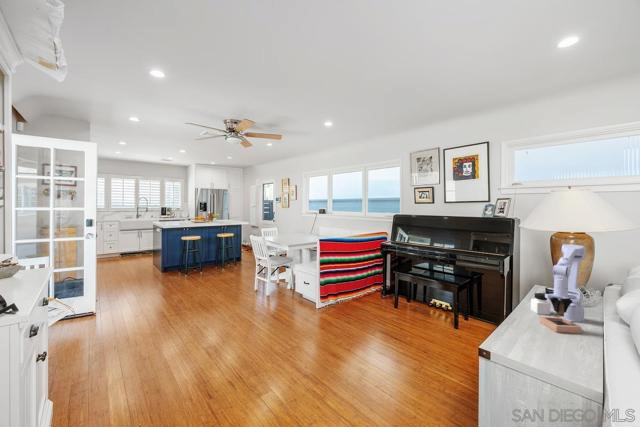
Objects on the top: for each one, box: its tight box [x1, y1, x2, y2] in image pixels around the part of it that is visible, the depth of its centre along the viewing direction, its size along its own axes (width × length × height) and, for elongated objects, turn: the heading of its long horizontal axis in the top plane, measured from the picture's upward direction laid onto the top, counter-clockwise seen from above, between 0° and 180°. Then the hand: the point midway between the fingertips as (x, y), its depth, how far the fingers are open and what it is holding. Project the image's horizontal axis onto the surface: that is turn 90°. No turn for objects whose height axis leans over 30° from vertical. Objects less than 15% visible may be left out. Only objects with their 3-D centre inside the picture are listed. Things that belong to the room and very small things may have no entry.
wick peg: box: [555, 302, 564, 317], centre depth 145 cm, size 3×3×7 cm
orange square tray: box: [539, 316, 582, 335], centre depth 145 cm, size 12×12×4 cm
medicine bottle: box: [530, 292, 552, 316], centre depth 166 cm, size 7×7×12 cm
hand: (560, 311), depth 145 cm, fingers closed on wick peg, 3 cm apart
